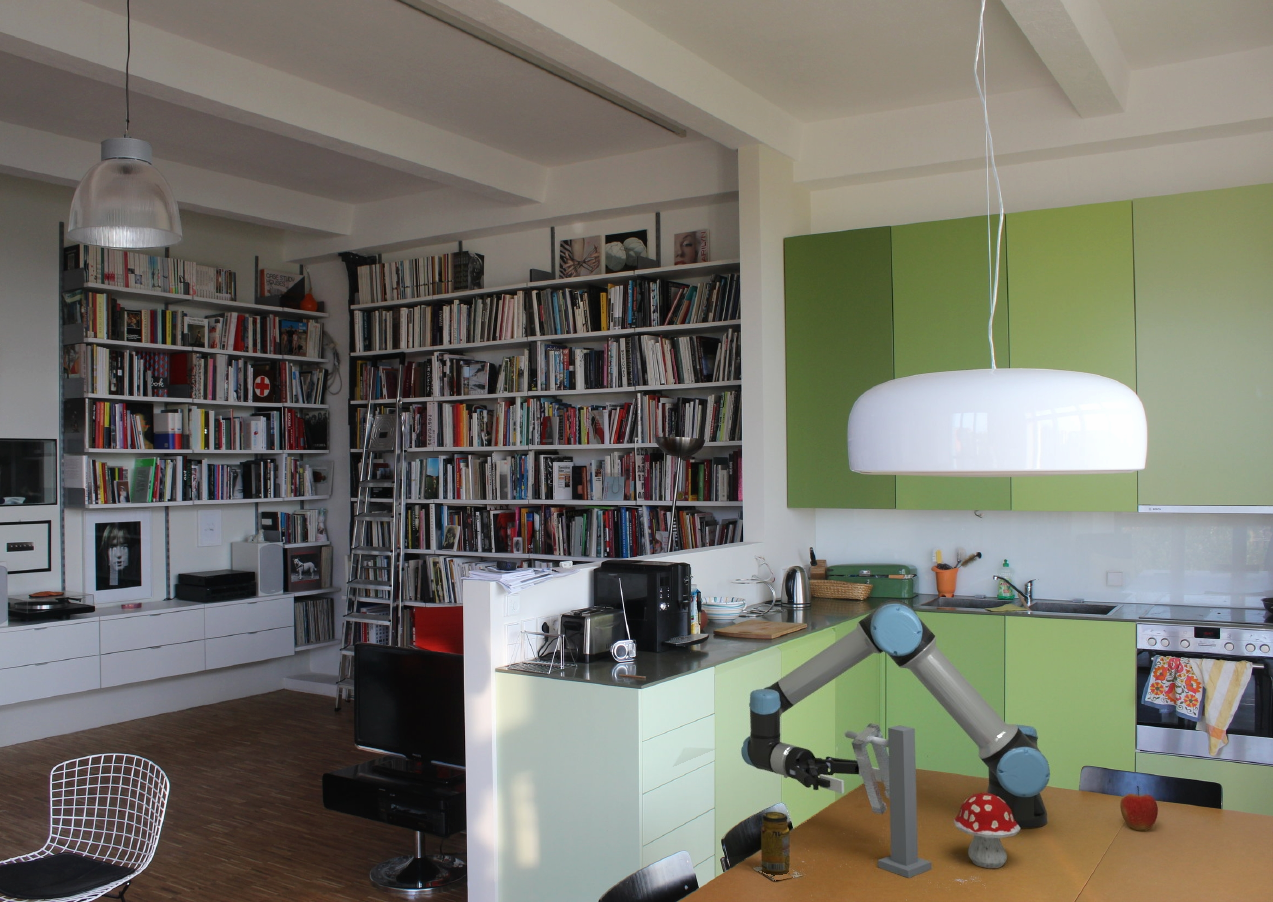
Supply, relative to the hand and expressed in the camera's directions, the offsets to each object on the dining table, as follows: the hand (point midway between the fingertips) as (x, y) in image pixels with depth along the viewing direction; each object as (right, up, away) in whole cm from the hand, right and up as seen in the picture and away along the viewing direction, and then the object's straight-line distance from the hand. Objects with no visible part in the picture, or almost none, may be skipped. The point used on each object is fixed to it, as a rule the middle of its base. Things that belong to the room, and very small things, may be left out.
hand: (863, 781), depth 222 cm
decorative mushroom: (+26, -16, -6) cm, 31 cm away
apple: (+70, -17, +14) cm, 73 cm away
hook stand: (+3, -16, -4) cm, 17 cm away
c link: (+6, -5, +1) cm, 8 cm away
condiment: (-21, -16, -10) cm, 28 cm away
